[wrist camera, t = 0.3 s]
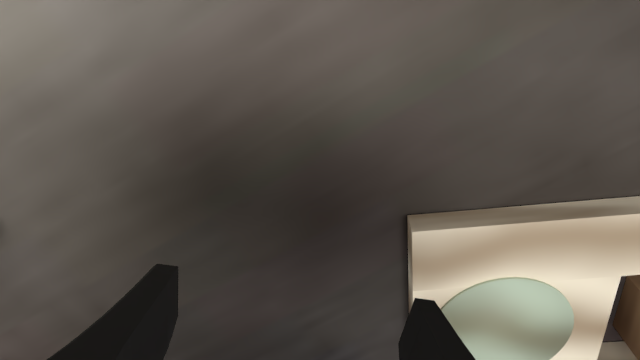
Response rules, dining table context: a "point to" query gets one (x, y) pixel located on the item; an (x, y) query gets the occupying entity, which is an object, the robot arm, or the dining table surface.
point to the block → (629, 314)
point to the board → (528, 275)
